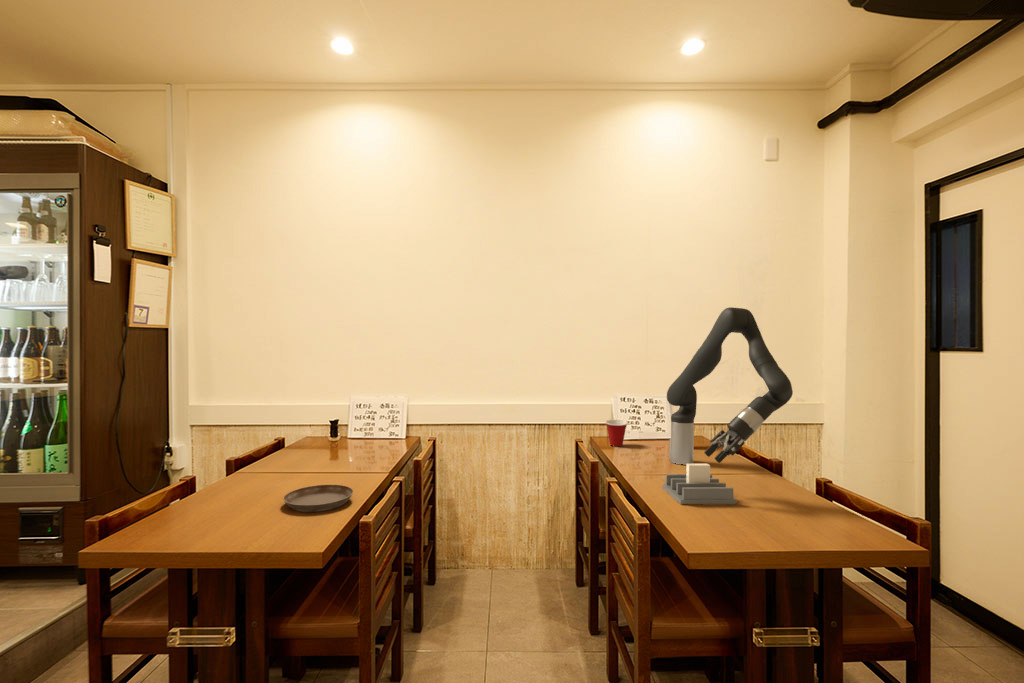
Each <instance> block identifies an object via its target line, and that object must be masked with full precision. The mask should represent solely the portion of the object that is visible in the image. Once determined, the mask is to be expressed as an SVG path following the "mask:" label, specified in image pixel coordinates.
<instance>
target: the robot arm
mask: <svg viewBox="0 0 1024 683" xmlns="http://www.w3.org/2000/svg"><path fill="white" fill-rule="evenodd" d="M731 333H734V334H735V333H736V334H741V335H742V336H743V337H744V338H745V339H746V341H747V344H748V358H749V361H750V363H751V365H752V366H753V368H754V370H755V371H756V373H757V375H759V377H760V378H761V379H763V381H764V383H765V385H766V387H767V390H768V391H767V392H766V393H764V395H762V396H756V397H755V398H754V399H753V400H752V401H751V402H749V403H748V405H747V406H746V407H745V408H743V409H741V411H739V413H737V414H736V415H735V417H733V418H732V419H731V420H730V422H729V423H727V429H728V430H727V431H725V430H724V429H722V430H720V431H719V432H718V433H717V434H716V435H715V436H714V437H713V438H711V440H709V441H710V445H709V446H708V447H707V448H706V450H704V455H706V457H707V458H708V457H711V456H712V455H713V454H714V453H715V452H716V451H717V450H718V449H720V448H723V449H722V450H720V452H719V453H717V455H716V456H714V460H715V461H716V462H717V463H718V464H719V463H722V462H723V460H725V459H726V458H727V457H728V456H730V455H731V456H734V455H735V454H736V453H737V452H738V451H739V450H740V449H741V448H742V446H744V445H745V442H746V441H747V440H748V439H749V438H750V437H751V436H752V435H753V434H755V432H756V431H757V430H759V428H760V427H761V426H762V424H763V423H764V422H765V421H766V420H767V419H768V418H769V417H770V416H771V415H772V414H773V413H774V412H775V411H777V410H779V409H780V408H782V407H783V406H784V405H786V404H787V403H788V402H789V401H790V400H791V399H792V396H793V393H794V392H793V387H792V386H793V385H792V382H791V380H790V379H789V377H788V376H787V375H786V373H785V372H784V371H783V369H782V368H781V367H780V366H779V365H778V364H779V363H778V362H777V361H776V360H775V358H774V356H773V355H772V353H771V352H770V350H769V348H768V347H767V345H766V343H765V341H764V338H763V336H762V333H761V330H760V328H759V326H758V324H757V321H756V319H755V317H754V315H753V313H752V311H750V310H749V309H747V308H742V307H741V308H739V307H731V306H730V307H726V308H724V309H723V310H722V311H721V312H720V313H719V315H718V316H717V319H716V321H715V322H714V324H713V327H712V328H711V330H710V331H709V333H708V335H707V336H706V338H705V339H704V341H703V342H702V344H701V346H700V347H699V348H698V349H697V351H696V352H695V354H694V355H693V356H692V358H691V360H690V361H689V363H688V364H687V365H686V366H685V367H684V369H683V371H682V372H681V373H680V375H678V377H677V378H676V379H675V380H674V381H673V382H672V383H671V384H670V386H669V387H668V388H667V391H666V400H667V402H668V404H670V405H671V406H673V407H674V406H675V407H678V409H677V410H676V412H674V413H672V414H671V416H670V438H669V444H668V445H669V446H668V447H669V448H668V449H669V453H668V455H669V456H668V458H669V461H670V463H672V464H675V463H676V464H677V465H681V464H683V466H684V465H685V466H686V464H695V463H694V461H695V460H694V458H695V457H694V454H695V453H694V448H695V442H694V441H695V439H694V438H695V436H694V435H695V429H694V428H695V418H696V415H697V404H698V403H697V401H698V400H697V399H698V394H697V390H696V388H695V386H694V385H696V384H697V383H698V382H700V381H701V380H704V379H705V378H706V377H707V376H710V375H711V373H712V372H713V371H714V370H715V369H716V367H717V366H718V365H719V363H721V362H720V361H721V360H722V354H723V352H722V351H723V348H722V346H723V344H724V342H725V340H726V339H727V337H728V336H729V335H730V334H731Z"/></svg>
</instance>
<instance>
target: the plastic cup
mask: <svg viewBox="0 0 1024 683" xmlns="http://www.w3.org/2000/svg"><path fill="white" fill-rule="evenodd" d="M628 424H629V423H628V421H626V420H624V419H608V420H607V419H606V420H605V425H606V428H607V434H608V435H607V436H608V440H609V445H610V444H611V445H614V446H622V447H623V444H624V439H625V434H626V428H627V426H628Z"/></svg>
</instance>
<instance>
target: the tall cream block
mask: <svg viewBox="0 0 1024 683" xmlns="http://www.w3.org/2000/svg"><path fill="white" fill-rule="evenodd" d="M685 466H686V467H685V468H686V469H685V470H686V483H710V474H711V465H710V464H709V463H693V464H686V465H685Z"/></svg>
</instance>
